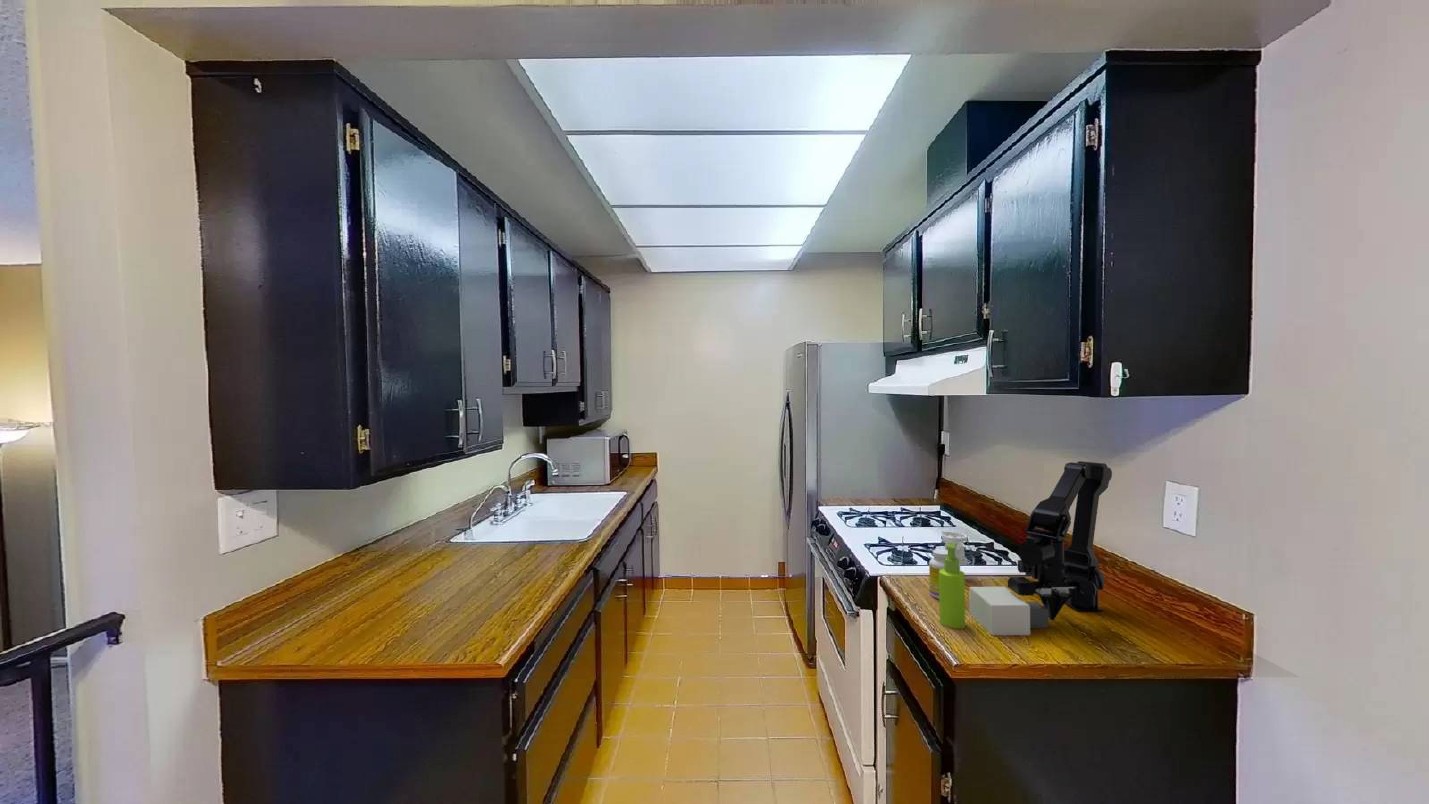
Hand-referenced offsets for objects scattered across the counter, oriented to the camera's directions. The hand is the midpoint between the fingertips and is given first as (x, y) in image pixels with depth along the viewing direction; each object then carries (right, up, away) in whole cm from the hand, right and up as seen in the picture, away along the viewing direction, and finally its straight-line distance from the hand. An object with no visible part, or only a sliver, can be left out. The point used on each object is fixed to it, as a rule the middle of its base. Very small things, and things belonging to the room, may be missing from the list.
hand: (1051, 619), depth 130 cm
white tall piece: (-10, -1, +32) cm, 33 cm away
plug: (-4, -1, 0) cm, 5 cm away
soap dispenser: (-24, -2, +2) cm, 24 cm away
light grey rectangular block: (-13, -1, +1) cm, 13 cm away
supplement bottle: (-19, -1, +19) cm, 27 cm away
